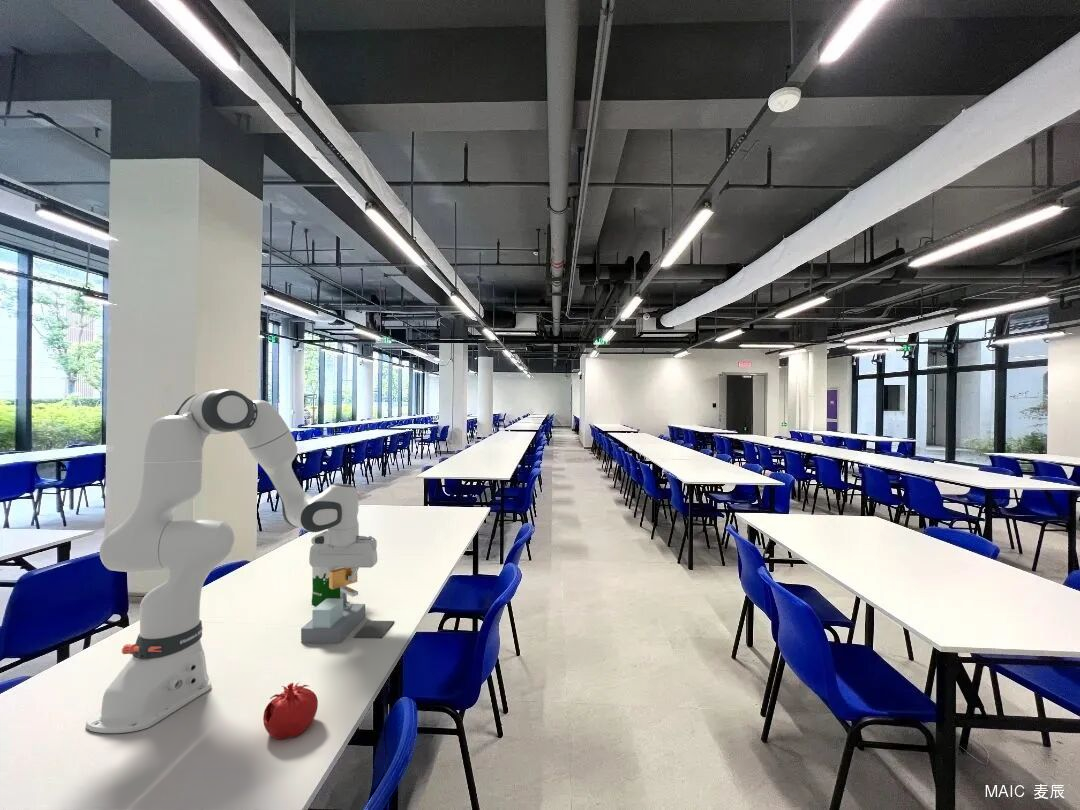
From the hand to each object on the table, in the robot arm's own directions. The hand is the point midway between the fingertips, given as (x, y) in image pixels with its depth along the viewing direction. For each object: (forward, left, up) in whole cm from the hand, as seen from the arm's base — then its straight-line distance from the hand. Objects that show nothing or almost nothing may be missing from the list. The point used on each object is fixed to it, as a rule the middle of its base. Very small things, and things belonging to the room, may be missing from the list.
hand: (343, 580), depth 147 cm
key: (-2, -2, -8) cm, 8 cm away
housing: (-6, 0, -12) cm, 13 cm away
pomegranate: (-49, -12, -12) cm, 52 cm away
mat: (-6, -12, -12) cm, 18 cm away
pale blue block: (-10, 0, -8) cm, 13 cm away
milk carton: (+13, +12, -12) cm, 22 cm away
